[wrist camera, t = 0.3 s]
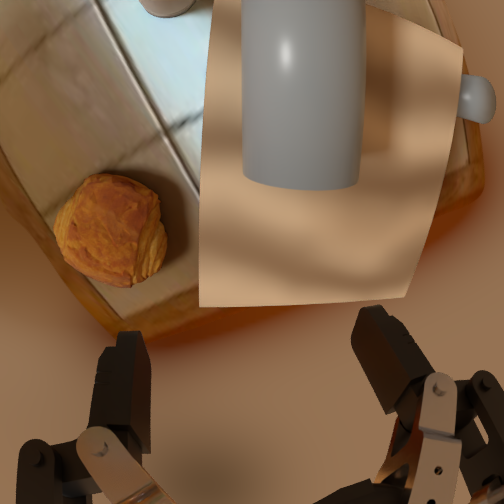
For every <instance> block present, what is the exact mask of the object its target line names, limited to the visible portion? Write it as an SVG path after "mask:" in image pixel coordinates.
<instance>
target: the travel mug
mask: <svg viewBox="0 0 504 504" xmlns="http://www.w3.org/2000/svg"><path fill="white" fill-rule="evenodd" d="M139 1H140V3H141V4H142V5H143V7H144V8H145V9H146V11H147V12H148V13H150V14H151V15H153V16H156V17H160V18H170V17H175V16H178V15H180V14H182V13H184V12H185V11H187V10H188V9H189V8H190V7H191V6H192V5H193V3H194V2H195V0H139Z"/></svg>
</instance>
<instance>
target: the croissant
mask: <svg viewBox="0 0 504 504" xmlns="http://www.w3.org/2000/svg"><path fill="white" fill-rule="evenodd" d="M84 181H85V182H84V183H83V184H82V185H81V186H80V187H78V188H77V190H76V191H75V193H74V195H73V197H71V198H70V199H69V200H68V201H66V203H65V205H64V206H63V207H62V208H61V209H60V211H59V213H58V215H57V217H56V219H55V223H54V226H53V230H54V234H55V236H56V241H57V243H58V246H59V247H60V249H61V253H62V254H63V256H64V260H65V261H66V262H67V263H68V264H70V265H71V266H73V267H74V268H75V269H76V270H78V271H80V272H81V273H82V274H84V275H86V276H87V277H90V278H92V279H95V280H97V281H99V282H102V283H105V284H107V285H110V286H114V287H118V288H131V287H132V285H134V284H136V283H140V282H143V281H144V280H146V279H147V278H148V277H149V276H150V277H151V276H152V275H153V274H154V273H157V272H158V271H159V270H160V268H162V262H163V260H164V258H165V255H166V249H167V239H168V238H167V237H168V235H167V233H166V232H165V230H164V225H163V224H162V223H161V222H160V221H159V220H160V217H161V213H160V204H159V203H160V202H161V201H160V200H158V195H157V194H155V193H154V192H153V191H152V189H151V190H150V189H148V188H147V187H146V186H144V185H143V184H141V183H139V182H137V181H135V180H132V179H130V178H128V177H125V176H120V175H111V174H109V173H102V174H94V175H91V176H89V177H88V178H87V179H84Z"/></svg>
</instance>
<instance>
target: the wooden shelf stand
mask: <svg viewBox="0 0 504 504" xmlns="http://www.w3.org/2000/svg"><path fill="white" fill-rule="evenodd" d="M365 8H366V91H365V111H364V127H363V140H362V152H361V162H360V172H359V180H358V182H357V184H355V185H353V186H351V187H348V188H343V189H337V190H323V191H312V190H294V189H285V188H279V187H273V186H268V185H264V184H260V183H257V182H254V181H252V180H250V179H248V178H247V177H245V176H244V175H243V159H242V63H241V0H214V5H213V13H212V22H211V30H210V40H209V50H208V61H207V72H206V85H205V98H204V113H203V129H202V149H201V172H200V206H199V307H242V306H274V305H275V306H276V305H300V304H319V303H336V302H351V301H365V300H377V299H389V298H399V297H405V294H406V292H407V289H408V287H409V284H410V282H411V279H412V276H413V274H414V271H415V269H416V266H417V264H418V261H419V258H420V255H421V252H422V250H423V247H424V244H425V241H426V238H427V235H428V232H429V228H430V226H431V222H432V219H433V216H434V212H435V209H436V206H437V202H438V198H439V195H440V191H441V187H442V183H443V179H444V175H445V171H446V167H447V162H448V158H449V153H450V148H451V143H452V138H453V133H454V127H455V121H456V115H457V108H458V101H459V93H460V84H461V74H462V61H463V48H461V47H459V46H458V45H456V44H454V43H452V42H451V41H449V40H447V39H445V38H443V37H441V36H439V35H437V34H435V33H433V32H431V31H429V30H427V29H425V28H423V27H421V26H419V25H417V24H415V23H413V22H410V21H408V20H406V19H403V18H401V17H399V16H396V15H394V14H391V13H389V12H386V11H384V10H381V9H378V8H376V7H373V6H370V5H367V4H365Z"/></svg>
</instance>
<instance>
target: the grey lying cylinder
mask: <svg viewBox="0 0 504 504" xmlns="http://www.w3.org/2000/svg"><path fill="white" fill-rule="evenodd" d="M241 63H242V159H243V175H244V176H245V177H247V178H248V179H250V180H252V181H254V182H257V183H260V184H264V185H268V186H273V187H279V188H285V189H294V190H312V191H323V190H337V189H343V188H348V187H351V186H353V185H355V184H357V182H358V180H359V172H360V162H361V152H362V140H363V127H364V111H365V91H366V8H365V0H241Z"/></svg>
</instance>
